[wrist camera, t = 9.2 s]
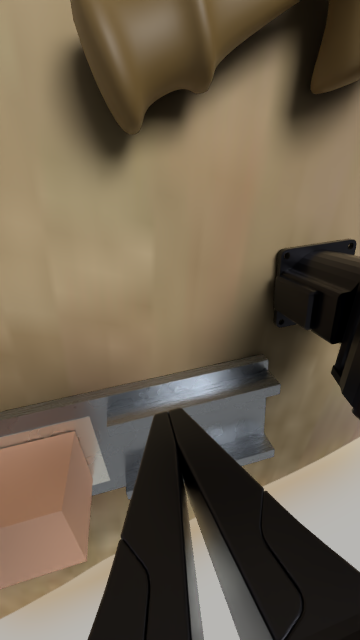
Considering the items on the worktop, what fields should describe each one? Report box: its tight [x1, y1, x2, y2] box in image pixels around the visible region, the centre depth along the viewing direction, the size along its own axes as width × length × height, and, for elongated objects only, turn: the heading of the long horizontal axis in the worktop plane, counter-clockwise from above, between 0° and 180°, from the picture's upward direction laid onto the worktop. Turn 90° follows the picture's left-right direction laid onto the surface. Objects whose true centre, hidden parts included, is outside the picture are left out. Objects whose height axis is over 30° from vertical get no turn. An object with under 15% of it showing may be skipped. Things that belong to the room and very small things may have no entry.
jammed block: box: [0, 431, 93, 589], centre depth 19 cm, size 8×6×6 cm
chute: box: [0, 354, 281, 499], centre depth 22 cm, size 26×11×3 cm, turn 96°
